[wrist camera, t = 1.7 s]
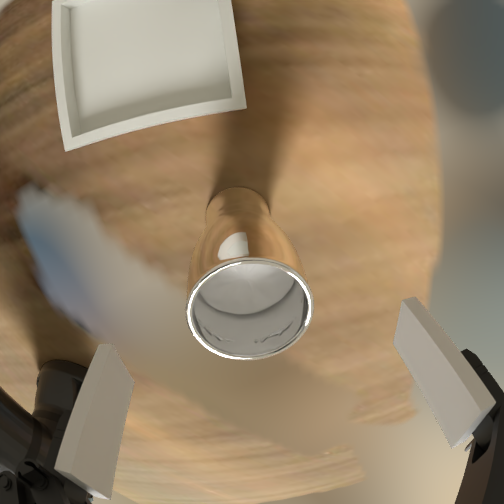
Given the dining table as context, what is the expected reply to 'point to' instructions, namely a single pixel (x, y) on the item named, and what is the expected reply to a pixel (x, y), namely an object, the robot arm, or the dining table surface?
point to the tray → (142, 64)
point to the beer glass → (246, 281)
